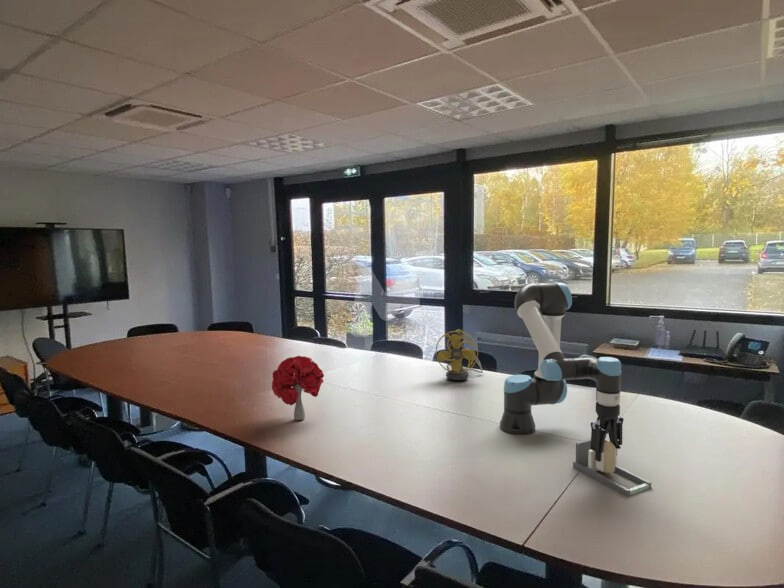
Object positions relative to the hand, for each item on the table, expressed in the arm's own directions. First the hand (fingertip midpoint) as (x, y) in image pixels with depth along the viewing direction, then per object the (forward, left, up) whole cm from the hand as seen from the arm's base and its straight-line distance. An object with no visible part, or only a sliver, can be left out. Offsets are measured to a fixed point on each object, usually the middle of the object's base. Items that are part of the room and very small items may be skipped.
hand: (605, 467), depth 158 cm
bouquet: (-105, -83, -3) cm, 134 cm away
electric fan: (-128, +26, -3) cm, 131 cm away
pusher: (-2, 0, -3) cm, 4 cm away
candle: (0, 0, -1) cm, 1 cm away
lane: (+2, 0, -3) cm, 3 cm away
